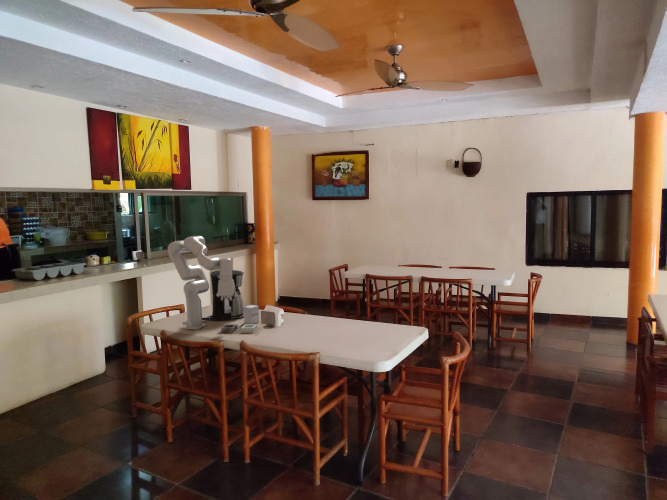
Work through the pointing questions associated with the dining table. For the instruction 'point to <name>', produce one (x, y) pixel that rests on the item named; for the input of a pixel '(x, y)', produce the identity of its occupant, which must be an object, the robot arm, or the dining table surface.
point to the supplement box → (251, 314)
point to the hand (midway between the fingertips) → (227, 305)
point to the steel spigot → (227, 305)
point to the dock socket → (249, 328)
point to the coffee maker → (218, 308)
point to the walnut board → (233, 329)
